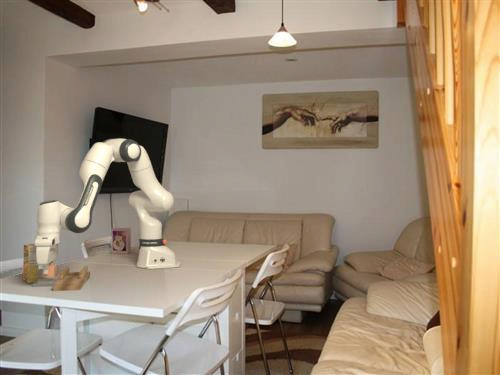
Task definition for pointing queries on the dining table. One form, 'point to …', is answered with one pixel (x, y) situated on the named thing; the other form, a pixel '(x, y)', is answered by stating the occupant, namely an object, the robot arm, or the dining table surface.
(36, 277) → the candy box
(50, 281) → the trivet
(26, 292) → the dining table surface
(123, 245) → the greeting card
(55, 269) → the block
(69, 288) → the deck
